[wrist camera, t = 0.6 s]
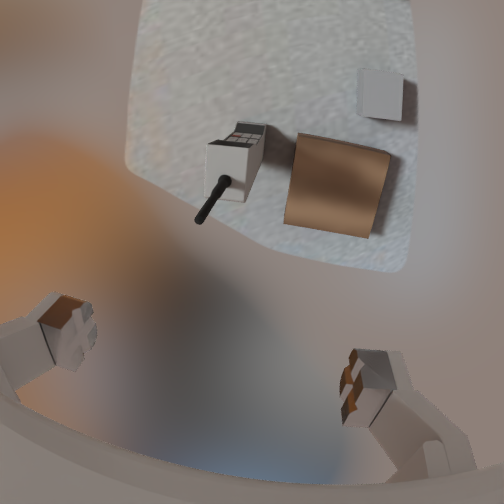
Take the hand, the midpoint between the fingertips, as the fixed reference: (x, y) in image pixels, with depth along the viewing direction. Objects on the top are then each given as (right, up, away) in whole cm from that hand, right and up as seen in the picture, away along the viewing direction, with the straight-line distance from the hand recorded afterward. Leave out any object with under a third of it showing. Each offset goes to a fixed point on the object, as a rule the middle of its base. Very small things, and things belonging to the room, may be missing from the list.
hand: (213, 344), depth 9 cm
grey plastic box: (+17, +23, +26) cm, 39 cm away
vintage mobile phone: (+1, +18, +32) cm, 37 cm away
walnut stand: (+12, +12, +33) cm, 38 cm away
